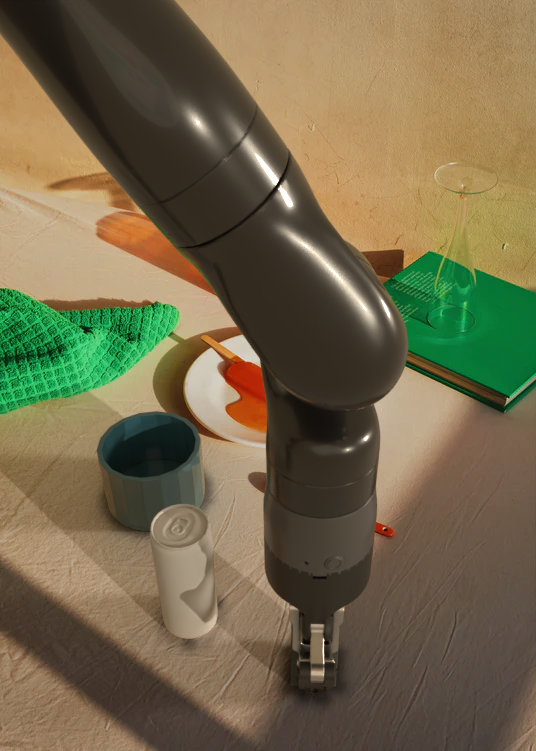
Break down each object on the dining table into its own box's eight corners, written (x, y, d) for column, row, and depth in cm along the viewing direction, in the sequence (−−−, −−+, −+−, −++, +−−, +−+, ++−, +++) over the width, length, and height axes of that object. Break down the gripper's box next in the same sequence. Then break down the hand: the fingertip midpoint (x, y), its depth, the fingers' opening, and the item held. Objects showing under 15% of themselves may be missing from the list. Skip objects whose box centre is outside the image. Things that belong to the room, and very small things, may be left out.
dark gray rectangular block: (335, 687, 59) (338, 651, 56) (290, 685, 59) (291, 650, 56) (334, 653, 61) (337, 617, 58) (291, 652, 62) (291, 616, 59)
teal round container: (139, 548, 71) (130, 497, 66) (89, 489, 77) (78, 439, 73) (224, 499, 76) (220, 449, 71) (170, 447, 82) (164, 398, 78)
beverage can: (153, 632, 63) (136, 539, 56) (179, 588, 67) (166, 495, 60) (204, 650, 62) (193, 557, 55) (227, 604, 65) (220, 511, 58)
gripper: (267, 453, 55) (270, 594, 66) (258, 613, 44) (263, 753, 55) (367, 454, 55) (354, 596, 66) (383, 616, 44) (364, 756, 54)
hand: (313, 667), depth 60 cm, fingers closed on dark gray rectangular block, 3 cm apart
